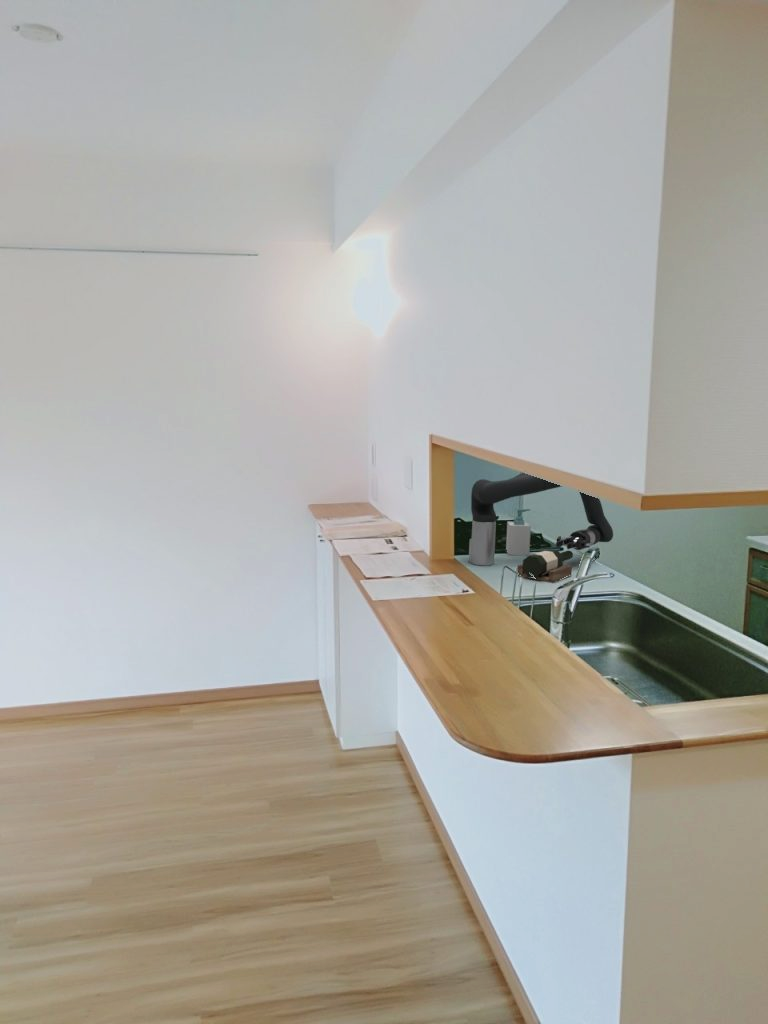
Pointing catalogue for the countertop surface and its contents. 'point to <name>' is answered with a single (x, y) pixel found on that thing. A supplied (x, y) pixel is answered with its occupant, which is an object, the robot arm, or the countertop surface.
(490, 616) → the countertop surface
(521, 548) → the soap bottle
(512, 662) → the countertop surface
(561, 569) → the cradle
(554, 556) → the wine bottle
